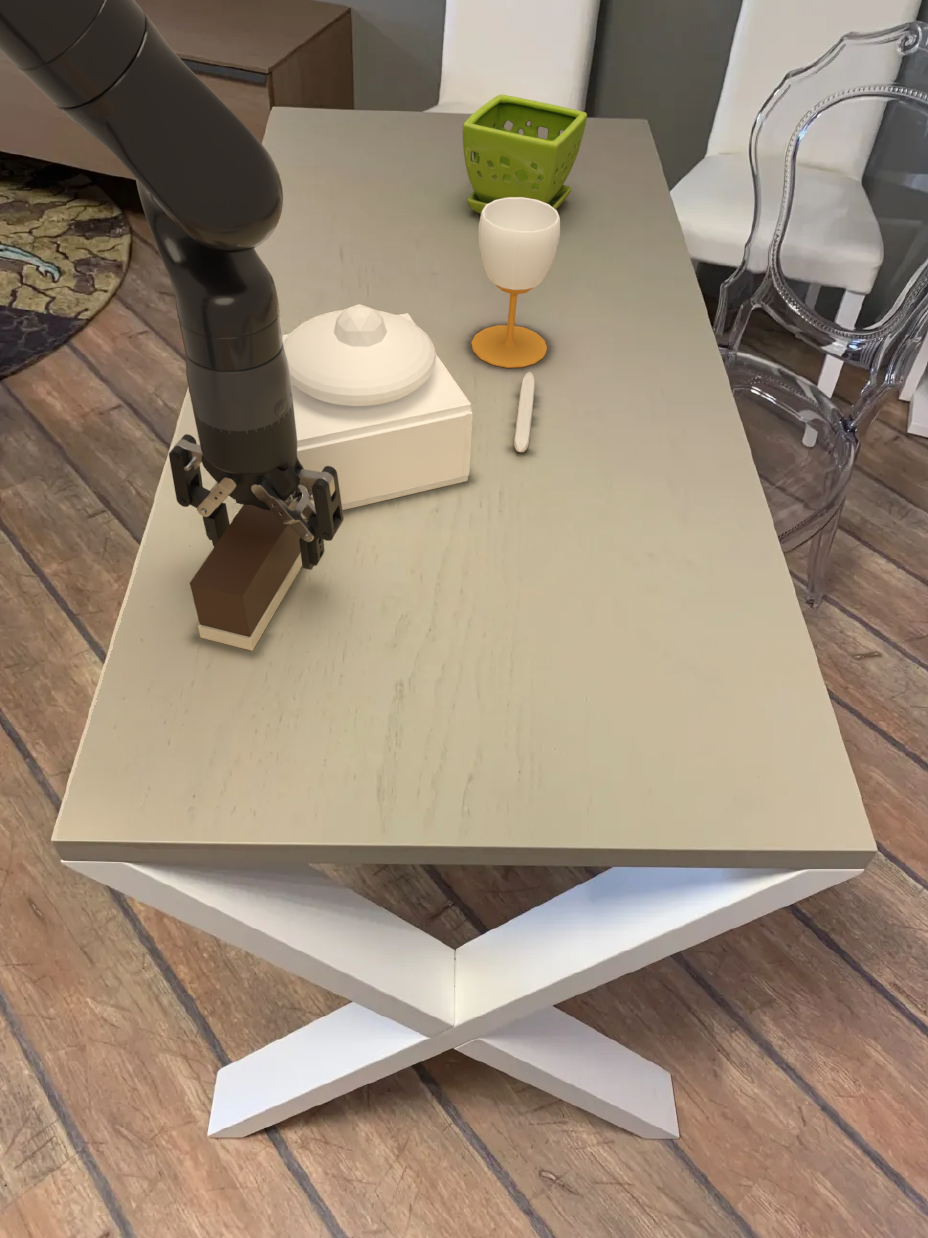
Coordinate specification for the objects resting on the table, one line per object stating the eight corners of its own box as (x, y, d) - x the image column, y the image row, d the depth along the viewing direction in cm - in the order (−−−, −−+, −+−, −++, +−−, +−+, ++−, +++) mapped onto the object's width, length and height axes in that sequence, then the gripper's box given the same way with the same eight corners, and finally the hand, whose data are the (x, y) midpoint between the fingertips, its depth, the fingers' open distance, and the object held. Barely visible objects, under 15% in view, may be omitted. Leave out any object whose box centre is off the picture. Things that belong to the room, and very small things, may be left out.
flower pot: (546, 240, 131) (557, 144, 122) (455, 217, 134) (458, 123, 125) (579, 200, 140) (591, 109, 131) (492, 181, 143) (498, 90, 134)
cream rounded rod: (535, 381, 108) (536, 369, 107) (527, 457, 98) (528, 444, 97) (521, 380, 108) (523, 367, 107) (512, 455, 99) (513, 442, 97)
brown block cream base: (259, 545, 88) (250, 491, 83) (307, 556, 87) (301, 503, 82) (200, 637, 80) (186, 584, 75) (252, 651, 79) (242, 598, 75)
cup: (547, 329, 115) (563, 198, 103) (546, 371, 109) (562, 237, 97) (474, 323, 116) (481, 192, 104) (468, 364, 110) (475, 230, 98)
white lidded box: (300, 520, 90) (284, 378, 79) (254, 414, 101) (233, 276, 90) (469, 480, 95) (477, 341, 84) (408, 384, 106) (407, 249, 95)
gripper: (348, 389, 73) (357, 543, 85) (180, 354, 75) (212, 508, 87) (310, 446, 68) (325, 600, 80) (132, 406, 70) (172, 562, 82)
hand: (266, 552), depth 84 cm, fingers open, 8 cm apart
